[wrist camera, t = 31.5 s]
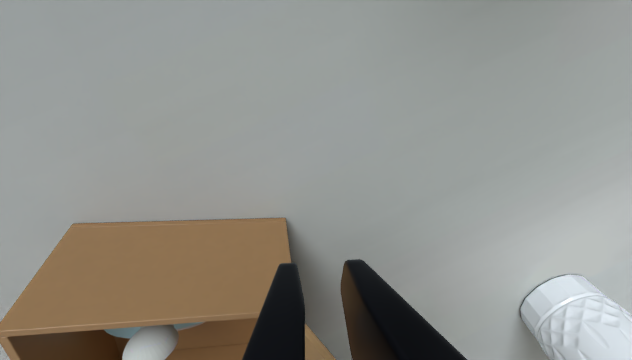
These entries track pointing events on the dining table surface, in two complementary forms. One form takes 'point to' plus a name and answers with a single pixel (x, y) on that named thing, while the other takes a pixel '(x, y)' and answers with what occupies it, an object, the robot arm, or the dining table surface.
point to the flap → (315, 347)
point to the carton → (148, 288)
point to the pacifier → (150, 340)
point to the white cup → (577, 321)
